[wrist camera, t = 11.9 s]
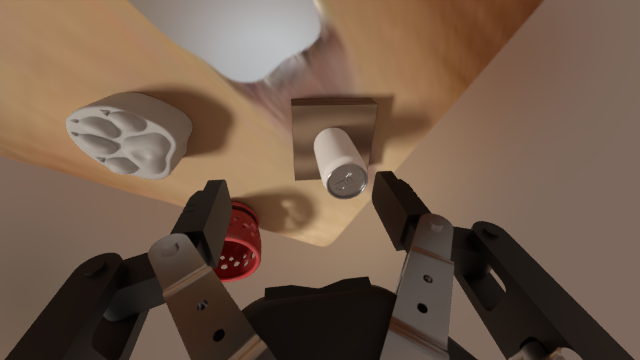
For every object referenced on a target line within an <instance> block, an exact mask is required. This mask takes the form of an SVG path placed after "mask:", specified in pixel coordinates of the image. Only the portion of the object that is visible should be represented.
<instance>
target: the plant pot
mask: <svg viewBox="0 0 640 360" xmlns="http://www.w3.org/2000/svg"><path fill="white" fill-rule="evenodd" d="M231 203H232V215H231V219H230V222H229V226H228V230H227V233H226V237H225V241H224V244H223V248H222V252H221V255H220V257H221V256H224V257H225V259H223V260H222V259H219V263H218V266H217V268H212V269H213V270H214V272H215V273H216V275H217V276H218V278H219V279H220V281H221V282H231V281H237V280H240V279H243V278H246V277H248V276H249V275H251V274H252V273H254V272H255V270H256V269H257V268H258V267H259V264H260V261H261V239H260V233H259V229H258V226H259V220H258V217H257V215H256V213H255V212H254V211H253V210H252V209H251V208H250V207H248V206H246V205H244V204H241V203H237V202H231ZM253 253H254V254H255V257H254V258H253V259H252V254H253ZM244 255H246V257H245V258H243V257H244ZM230 257H233V258H234V259H233V260H232V261H229V258H230ZM247 261H248V264H247V265H246V266H244V264H245V263H246V262H247ZM235 262H240V264H239V265H238V266H236V267H235V266H234V263H235ZM222 265H227V266H228V268H227V269H221V266H222Z"/></svg>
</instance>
